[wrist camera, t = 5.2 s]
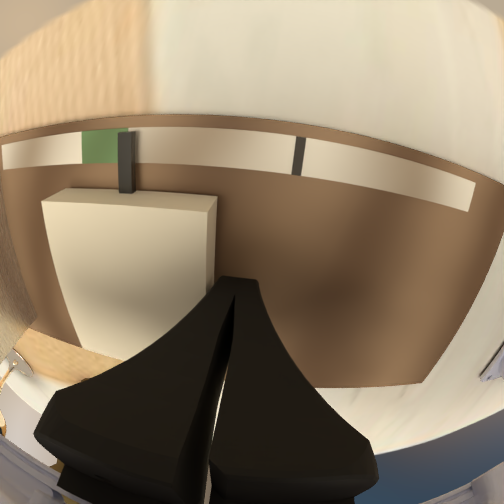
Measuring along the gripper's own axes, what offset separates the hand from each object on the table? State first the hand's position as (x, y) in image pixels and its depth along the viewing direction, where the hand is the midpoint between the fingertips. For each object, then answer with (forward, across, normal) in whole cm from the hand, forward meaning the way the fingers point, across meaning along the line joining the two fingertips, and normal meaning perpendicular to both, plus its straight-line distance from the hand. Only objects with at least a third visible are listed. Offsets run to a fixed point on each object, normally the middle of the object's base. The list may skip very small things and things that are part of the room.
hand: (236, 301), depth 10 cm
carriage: (+1, +4, -1) cm, 4 cm away
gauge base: (+2, +2, 0) cm, 3 cm away
